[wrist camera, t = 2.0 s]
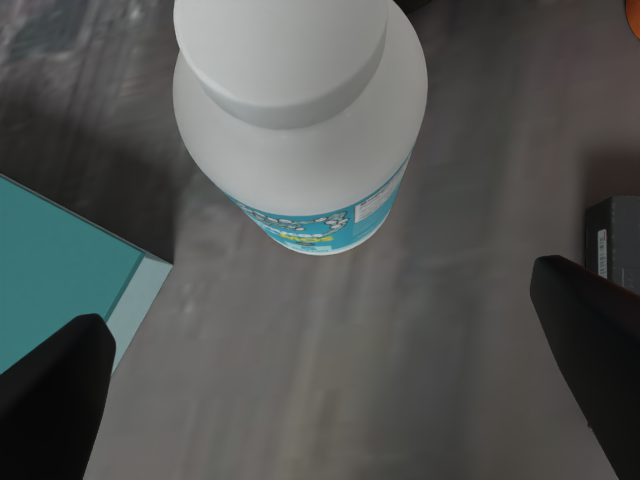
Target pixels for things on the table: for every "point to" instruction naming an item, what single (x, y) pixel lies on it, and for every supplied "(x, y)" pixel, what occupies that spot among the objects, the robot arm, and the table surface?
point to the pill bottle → (301, 111)
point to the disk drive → (615, 241)
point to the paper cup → (633, 15)
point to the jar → (410, 4)
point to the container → (66, 274)
